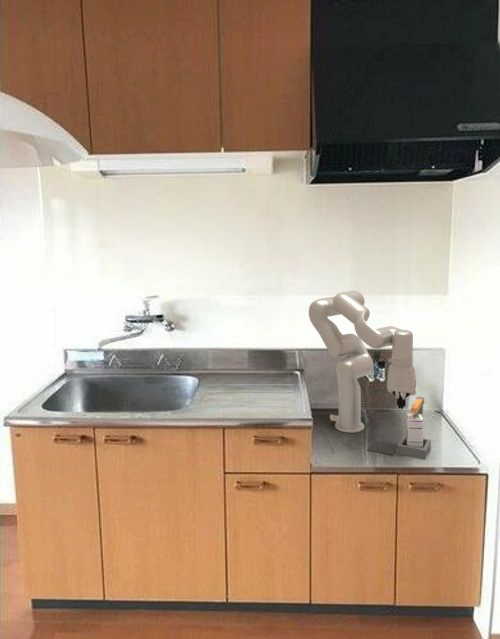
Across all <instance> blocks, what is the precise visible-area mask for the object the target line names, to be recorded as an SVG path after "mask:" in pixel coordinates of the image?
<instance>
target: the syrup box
mask: <svg viewBox="0 0 500 639" xmlns="http://www.w3.org/2000/svg"><path fill="white" fill-rule="evenodd" d="M406 436H407V441H406V446H411V447H417V448H422V449H423V439H424V417H423V418H422V415H421V414H417V413H406Z"/></svg>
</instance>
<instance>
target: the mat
mask: <svg viewBox="0 0 500 639" xmlns="http://www.w3.org/2000/svg"><path fill="white" fill-rule="evenodd" d="M398 444H399V443H394V442H389V441H383V440H379V439H374V440H372V442H371V443H370V445H369V446H368V448H367V449H366V451H367V452H374V453H379V454H384V455H389V456H394V454H395V453H396V452H397V451H396V450H398Z"/></svg>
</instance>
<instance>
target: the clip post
mask: <svg viewBox="0 0 500 639" xmlns="http://www.w3.org/2000/svg"><path fill="white" fill-rule="evenodd" d="M416 414H421V415H422V418H423V419H424V404H422V405H421V407H420V409H419V410H418V412H417V413H416Z"/></svg>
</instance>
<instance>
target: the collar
mask: <svg viewBox="0 0 500 639" xmlns="http://www.w3.org/2000/svg"><path fill="white" fill-rule="evenodd" d="M406 441H407V434H404V435H403V436H402V438H401V439H400V441H399V442H398V443H397V444H398V448H397V454H398V455H403V456H407V457H413V458H417V459H421V460H426V458H427V457H428V455H429V453H430V450H431V449H432V448H431V447H432V442H431V441H432V439H428V438H423V449H422V448H417V447H411V446H406Z"/></svg>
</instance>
